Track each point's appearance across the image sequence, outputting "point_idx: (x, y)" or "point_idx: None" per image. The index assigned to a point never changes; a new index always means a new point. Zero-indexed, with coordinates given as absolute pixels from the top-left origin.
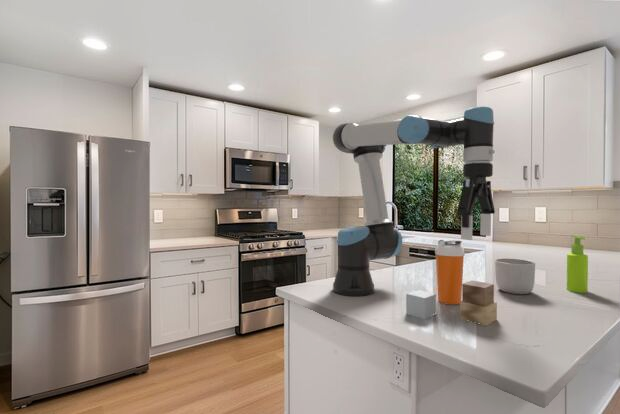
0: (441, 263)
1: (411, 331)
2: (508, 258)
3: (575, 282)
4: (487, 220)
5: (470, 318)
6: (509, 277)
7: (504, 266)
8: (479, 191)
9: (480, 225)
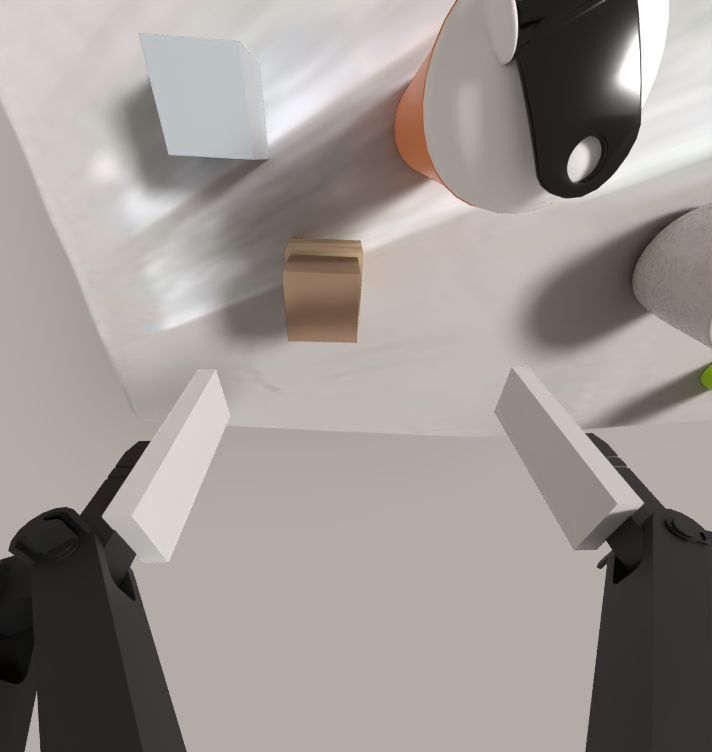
0: (421, 81)
1: (86, 180)
2: None
3: None
4: (550, 484)
5: None
6: (673, 275)
7: None
8: None
9: (547, 413)
